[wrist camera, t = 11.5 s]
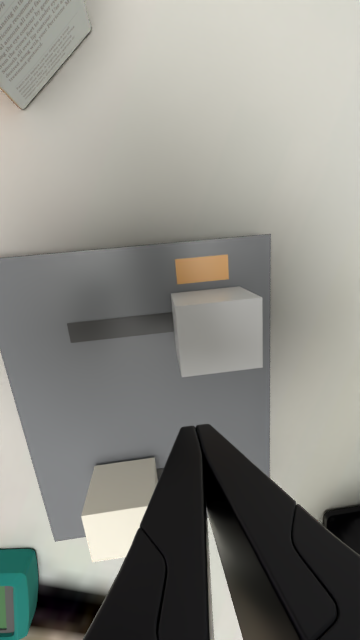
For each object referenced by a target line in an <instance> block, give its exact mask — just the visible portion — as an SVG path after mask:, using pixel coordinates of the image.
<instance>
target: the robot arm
mask: <svg viewBox="0 0 360 640" xmlns="http://www.w3.org/2000/svg"><path fill="white" fill-rule="evenodd" d="M206 508H207V509H206ZM207 512H208V516H209V520H210V524H211V527H212V531H213V535H214V538H215V542H216V545H217V549H218V552H219V556H220V559H221V563H222V566H223V570H224V573H225V577H226V580H227V584H228V587H229V591H230V594H231V598H232V601H233V605H234V609H235V612H236V616H237V619H238V623H239V626H240V630H241V633H242V637H243V640H360V506H358V507H352V508H346V509H339V510H333V511H328V512H327V513H326V514H325V515H324V526H323V525H322V524H321V523H319V522H318V521H317V520H316V519H315V518H314V517H312V516H311V515H310V514H309V513H308V512H307V511H306V510H305V509H304V508H303V507H301V506H300V505H299V504H297V505H296V501H295V500H293V499H292V498H291V497H290V496H289V495H288V494H287V493H286V492H285V491H283V490H282V489H281V488H280V487H279V486H278V485H277V484H276V483H275V482H274V481H272V480H271V479H270V478H269V477H268V476H267V475H266V474H265V473H264V472H262V471H261V470H260V469H259V468H258V467H257V466H256V465H255V464H254V463H252V462H251V461H250V460H249V459H248V458H247V457H246V456H245V455H244V454H243V453H241V452H240V451H239V450H238V449H237V448H236V447H235V446H234V445H233V444H231V443H230V442H229V441H228V440H227V439H226V438H225V437H224V436H223V435H221V434H220V433H219V432H218V431H217V430H216V429H215V428H214V427H213V426H211V425H210V424H200V425H196V427H195V426H193V425H192V426H184V427H181V428H180V430H179V433H178V435H177V437H176V440H175V442H174V445H173V447H172V449H171V452H170V454H169V456H168V459H167V461H166V464H165V466H164V468H163V471H162V473H161V476H160V478H159V480H158V483H157V485H156V487H155V490H154V492H153V495H152V497H151V499H150V502H149V504H148V507H147V509H146V511H145V514H144V516H143V518H142V521H141V523H140V528H139V529H138V530H137V532H136V535H135V537H134V539H133V542H132V544H131V547H130V549H129V551H128V553H127V555H126V558H125V560H124V562H123V564H122V566H121V568H120V571H119V573H118V575H117V577H116V579H115V580H114V582H113V584H112V586H111V588H110V590H109V592H108V594H107V596H106V598H105V600H104V602H103V604H102V605H101V607H100V609H99V611H98V613H97V614H96V616H95V618H94V620H93V622H92V624H91V625H90V627H89V629H88V631H87V633H86V635H85V636H84V638H83V640H214V630H213V612H212V594H211V576H210V558H209V540H208V523H207Z"/></svg>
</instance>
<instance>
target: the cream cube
mask: <svg viewBox="0 0 360 640" xmlns="http://www.w3.org/2000/svg"><path fill="white" fill-rule="evenodd" d="M157 483H158V478H157V470H156V463H155V457H154V458H147V459H140V460H132V461H125V462H118V463H111V464H104V465H97V466H94V470H93V474H92V478H91V481H90V485H89V489H88V492H87V496H86V500H85V504H84V507H83V511H82V515H81V518H82V522H83V526H84V530H85V534H86V538H87V543H88V547H89V551H90V555H91V559H92V563H93V562H99V561H105V560H111V559H117V558H123V557H126V555H127V553H128V551H129V549H130V547H131V544H132V542H133V539H134V537H135V535H136V532H137V530H138V529H139V528H140V523H141V521H142V518H143V516H144V514H145V511H146V509H147V507H148V504H149V502H150V499H151V497H152V495H153V492H154V490H155V487H156V485H157Z"/></svg>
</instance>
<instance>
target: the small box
mask: <svg viewBox="0 0 360 640" xmlns="http://www.w3.org/2000/svg"><path fill="white" fill-rule="evenodd" d="M90 30H91V23H90V20H89V17H88V13H87V9H86V6H85V2H84V0H0V89H1V90H2V91H3V92H4V93H5V94H6V95H7V96H8V97H9V98H10V99H11V100H12V101H13V102H14V103H15V104H16V105H17V106H18V107H19V108H20V109H24V108H25V107H26V106H27V105H28V104H29V103H30V101H31V100H32V99H33V98H34V97H35V96H36V94H37V93H38V92H39V91H40V90H41V89H42V87H43V86H44V85H45V84H46V83H47V82H48V80H49V79H50V78H51V77H52V76H53V75H54V73H55V72H56V71H57V70H58V69H59V67H60V66H61V65H62V64H63V63H64V61H65V60H66V59H67V58H68V57H69V56H70V54H71V53H72V52H73V51H74V50H75V48H76V47H77V46H78V45H79V44H80V42H81V41H82V40H83V39H84V38H85V36H86V35H87V34H88V33H89V32H90Z"/></svg>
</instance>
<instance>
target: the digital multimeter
mask: <svg viewBox="0 0 360 640" xmlns="http://www.w3.org/2000/svg"><path fill="white" fill-rule="evenodd" d="M37 597H38V566H37V559H36V553H35V551H34V550H33V549H0V640H19V639H21V638H23V637H25V636H27V634H28V631H29V628H30V625H31V621H32V618H33V615H34V612H35V609H36V605H37Z"/></svg>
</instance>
